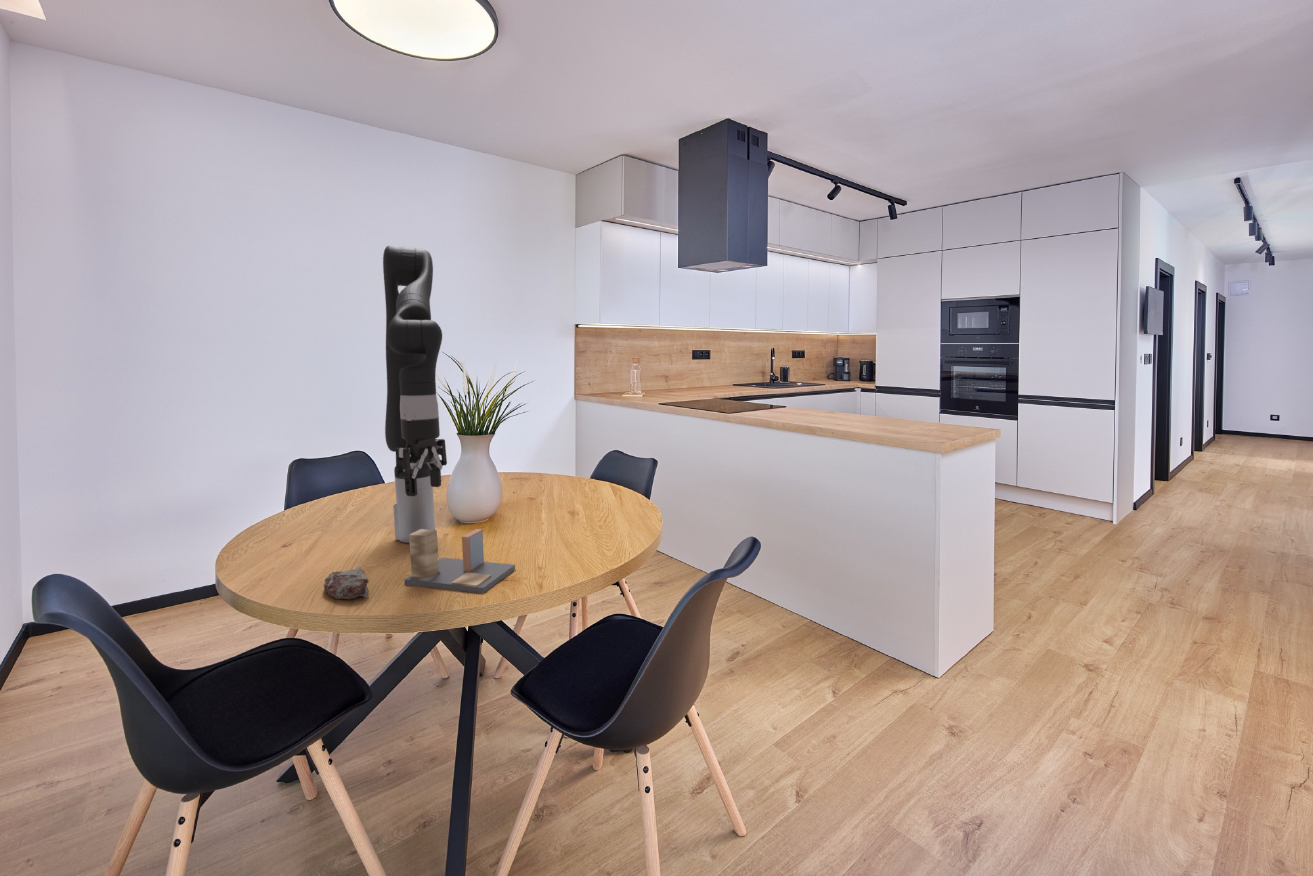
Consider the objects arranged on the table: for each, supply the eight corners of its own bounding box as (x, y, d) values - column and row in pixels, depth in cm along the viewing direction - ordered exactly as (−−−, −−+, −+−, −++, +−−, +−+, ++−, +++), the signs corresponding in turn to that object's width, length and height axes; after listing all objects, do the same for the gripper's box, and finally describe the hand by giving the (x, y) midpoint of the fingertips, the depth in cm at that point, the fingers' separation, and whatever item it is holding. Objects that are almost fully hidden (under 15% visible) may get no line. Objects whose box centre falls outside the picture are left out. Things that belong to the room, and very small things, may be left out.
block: (410, 579, 130) (407, 534, 128) (423, 571, 134) (420, 528, 132) (428, 581, 129) (425, 536, 127) (440, 573, 133) (437, 530, 131)
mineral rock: (322, 585, 130) (320, 565, 129) (363, 577, 134) (361, 558, 134) (327, 610, 118) (325, 589, 117) (371, 601, 122) (369, 580, 121)
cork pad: (451, 584, 127) (451, 582, 127) (466, 574, 133) (466, 572, 133) (476, 587, 125) (476, 585, 125) (491, 576, 131) (491, 574, 131)
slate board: (404, 584, 130) (404, 579, 130) (442, 562, 143) (442, 557, 143) (483, 593, 125) (483, 587, 125) (515, 569, 139) (514, 564, 138)
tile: (463, 571, 134) (461, 536, 133) (477, 561, 140) (476, 528, 139) (470, 571, 134) (468, 537, 133) (484, 562, 140) (483, 529, 139)
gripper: (424, 412, 134) (428, 483, 136) (381, 419, 120) (386, 498, 123) (454, 413, 132) (458, 484, 135) (414, 420, 119) (419, 500, 121)
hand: (424, 491), depth 129 cm, fingers open, 8 cm apart
